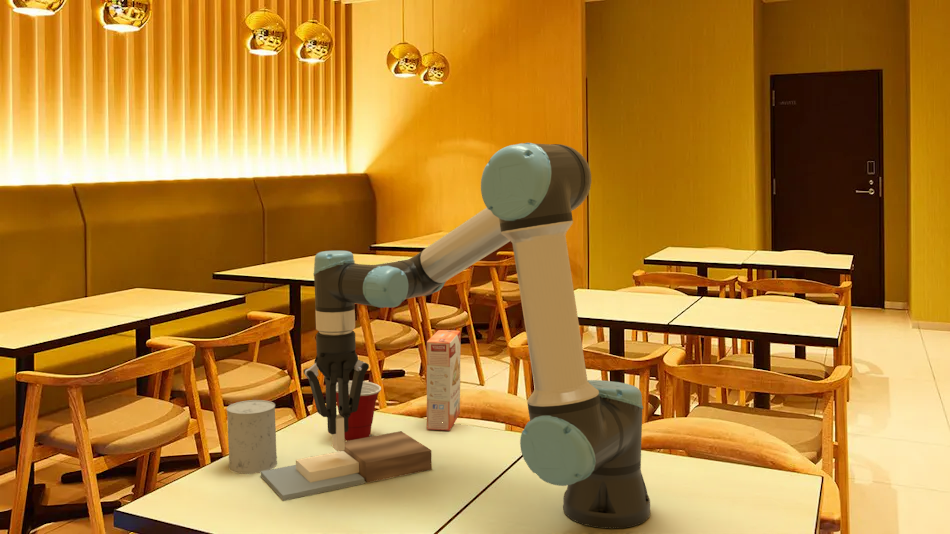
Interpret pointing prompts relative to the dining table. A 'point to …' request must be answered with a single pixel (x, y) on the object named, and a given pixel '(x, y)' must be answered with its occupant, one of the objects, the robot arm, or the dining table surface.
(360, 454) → the brown block
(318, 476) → the tile
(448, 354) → the cracker box
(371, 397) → the plastic cup
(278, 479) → the mat
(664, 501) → the dining table surface
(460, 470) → the dining table surface
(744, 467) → the dining table surface
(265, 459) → the speckled stone pillar
